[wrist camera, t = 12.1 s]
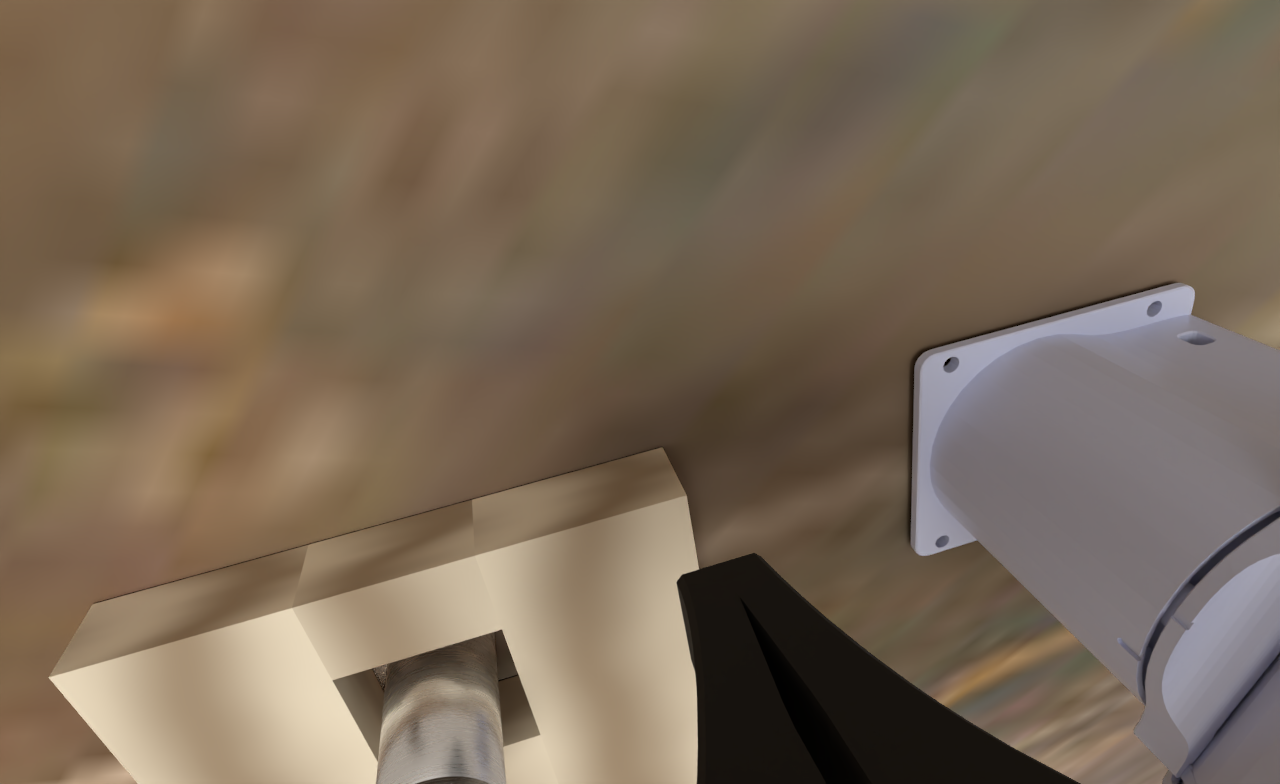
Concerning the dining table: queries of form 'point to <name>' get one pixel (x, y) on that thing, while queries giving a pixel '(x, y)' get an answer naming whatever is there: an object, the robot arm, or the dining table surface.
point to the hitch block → (415, 641)
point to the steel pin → (443, 717)
